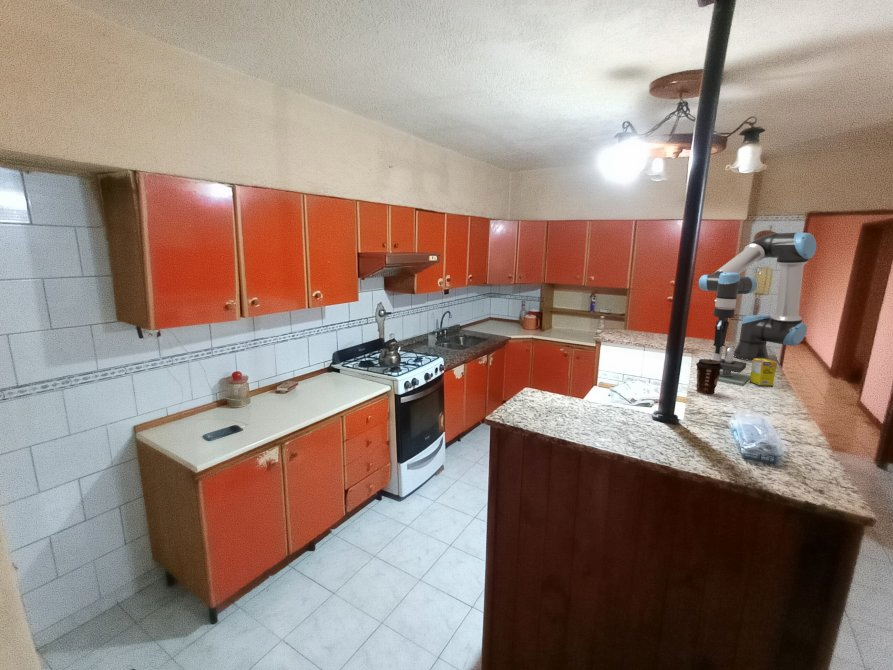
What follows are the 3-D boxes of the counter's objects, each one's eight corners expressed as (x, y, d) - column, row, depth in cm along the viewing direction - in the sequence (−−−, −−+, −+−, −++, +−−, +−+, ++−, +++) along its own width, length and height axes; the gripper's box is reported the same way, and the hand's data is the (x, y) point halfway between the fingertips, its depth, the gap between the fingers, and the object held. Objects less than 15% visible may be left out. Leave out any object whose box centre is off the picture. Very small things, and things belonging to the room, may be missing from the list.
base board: (710, 370, 198) (710, 368, 198) (751, 378, 187) (751, 375, 187) (700, 377, 187) (700, 375, 187) (743, 386, 176) (743, 383, 176)
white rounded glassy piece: (721, 373, 190) (725, 345, 187) (733, 375, 187) (737, 347, 184) (719, 375, 187) (723, 347, 184) (730, 377, 184) (735, 349, 181)
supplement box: (773, 387, 175) (777, 362, 173) (758, 387, 175) (762, 361, 173) (762, 382, 181) (767, 358, 179) (748, 382, 181) (752, 358, 179)
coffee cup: (711, 389, 171) (716, 358, 169) (722, 396, 163) (727, 364, 161) (689, 388, 172) (693, 357, 169) (699, 395, 164) (703, 363, 161)
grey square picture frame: (716, 362, 194) (716, 357, 194) (745, 368, 186) (746, 362, 186) (709, 367, 186) (709, 362, 186) (739, 373, 178) (740, 367, 178)
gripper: (718, 306, 191) (711, 356, 196) (710, 308, 182) (703, 361, 187) (738, 307, 186) (730, 359, 191) (731, 310, 177) (722, 364, 182)
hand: (716, 360), depth 189 cm, fingers closed
